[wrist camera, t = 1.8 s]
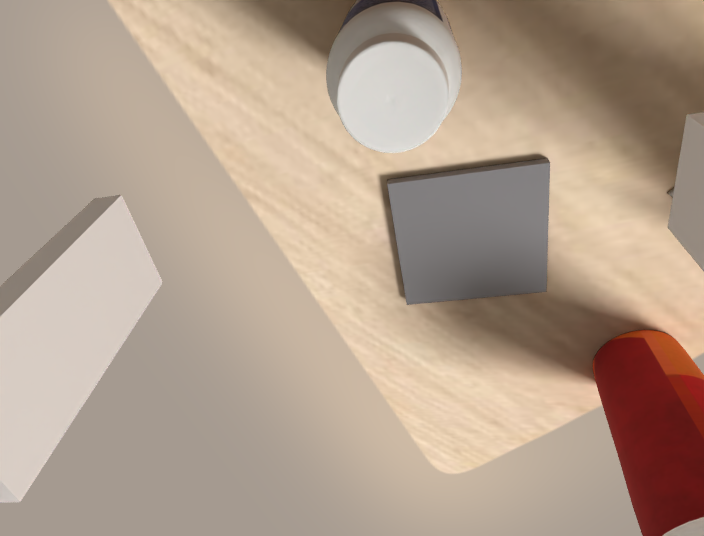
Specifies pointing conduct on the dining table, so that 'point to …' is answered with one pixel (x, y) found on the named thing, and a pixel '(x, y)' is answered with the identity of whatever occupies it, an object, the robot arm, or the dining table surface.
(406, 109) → the pill bottle
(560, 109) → the dining table surface
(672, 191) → the skyscraper
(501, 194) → the coaster
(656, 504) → the coffee cup
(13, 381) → the robot arm
